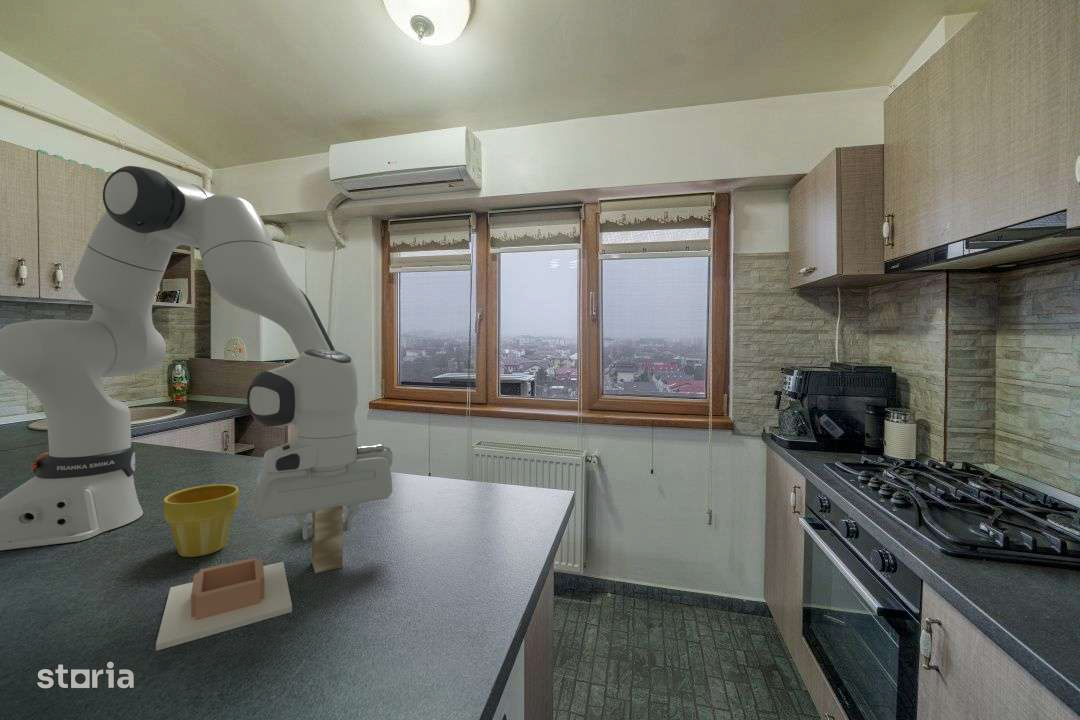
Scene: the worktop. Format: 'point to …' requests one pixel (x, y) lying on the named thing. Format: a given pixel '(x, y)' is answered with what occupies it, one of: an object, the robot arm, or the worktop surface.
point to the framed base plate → (224, 601)
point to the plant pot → (201, 517)
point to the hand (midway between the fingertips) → (327, 534)
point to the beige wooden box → (327, 539)
